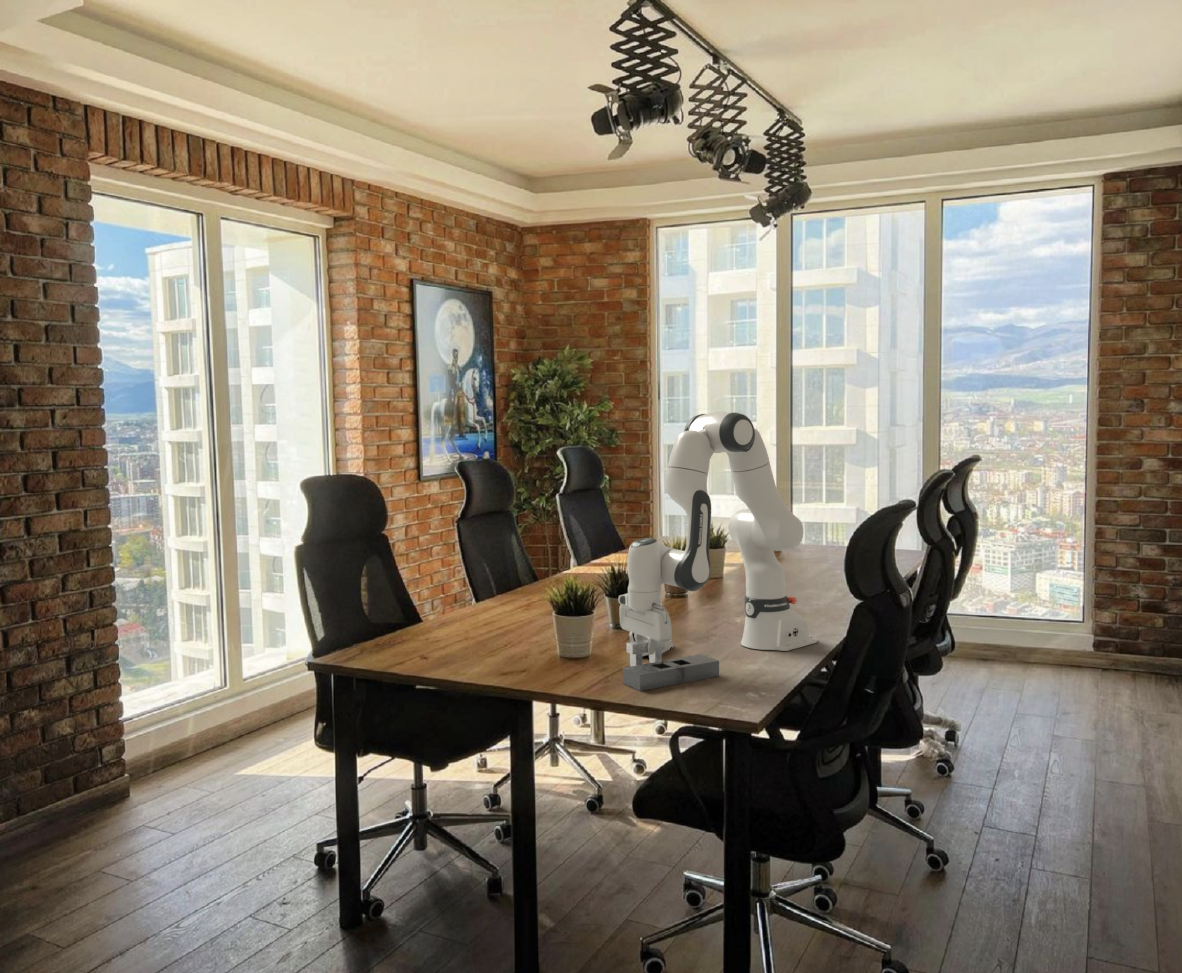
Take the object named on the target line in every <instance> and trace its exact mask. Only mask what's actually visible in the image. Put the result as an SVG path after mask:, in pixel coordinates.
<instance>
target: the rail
mask: <svg viewBox="0 0 1182 973" xmlns="http://www.w3.org/2000/svg"><path fill="white" fill-rule="evenodd" d="M715 676H717V677H719V676H720V660H718V659H716V658H712V657H709V656H707V655H705V654H704V655H703V654H695V655H689V656H683V657H678V658H673V659H666V660H662V661H659V662H653V663H644V664H642V665H636V666H630V665H629V666H626V667H622V684H623V683H624V684H623V685H625V684H626V686H628V687H630V686H631V687H630V688H632V689H634V690H637V691H640V692H642V691H647V690H648V689H649V690H653V689H657V688H658V689H659V688H663V686H664V687H668V686H669V687H670V686H674V685H680V684H683V683H684V684H685V683H690V682H695V681H700V679H701V680H705V679H706V680H707V679H710V678H716V677H715Z"/></svg>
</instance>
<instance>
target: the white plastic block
mask: <svg viewBox="0 0 1182 973" xmlns="http://www.w3.org/2000/svg"><path fill="white" fill-rule="evenodd" d="M628 636H629V640H630V642H635V641H636V640H635V638H634V633H632V632H630V631H629V633H628ZM643 640H648V638H646V637H644V636H643ZM671 647H672V648H675V645H674V642H673V640H672V639H671V640H670V641H666V642H665V649H663V650H662V654H664V653H666V652H667V651H669V650H670V648H671ZM672 648H671V649H672ZM646 656H649V654H647V653H646V652H645V653H642V657H646Z"/></svg>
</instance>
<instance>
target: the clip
mask: <svg viewBox="0 0 1182 973" xmlns="http://www.w3.org/2000/svg"><path fill="white" fill-rule="evenodd" d="M625 643H626V644H625V645H626V653H627V654H629V667H630V666H636V665H642V664H643V656H642V653H645V652H646V647H648V644H649V642H648V640H641V641H635V642H631V641H630V642H625ZM663 649H665V642H658V641H657V644H656V646H655V653H654V654H651V655H650V654H649V655H648V658H649V659H648V662H649V663H653V662H659V661H663V658H662V654H663V653H662V650H663Z"/></svg>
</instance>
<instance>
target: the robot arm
mask: <svg viewBox="0 0 1182 973" xmlns="http://www.w3.org/2000/svg"><path fill="white" fill-rule="evenodd" d="M683 430H684V431H682V432H680V433H679V434H678V435H677V436H676V438H675V441H674V443H673V446H672V449H671V452H670V455H669V459H668V464H667V469H666V473H665V479H664V480H665V491H666V492H667V494H668V496H669V498H671V499H672V500H673V502H675V503H676V504H677V505H679V506H680V507H681V508H682V509H683V510H684V511H685V513H686V516H687V532H686V533H687V535H686V546H685V550H681V549H677V548H672V547H670V546H667V545H664V544H663V543H661V542H659V541H658V539H656V538H653V537H645V538H639V539H636V540H634V541H632V543H630V545H629V549H628V552H627V553H628V554H627V576H628V586H627V593H624V594H620V595H618V603H619V604H620V605H619V610H618V611H619V614H618V615H619V625H620V628H621V629H622V630H624V631H626V632H627V631H628V632H629V633H630V632H632V633H634V638H635V640H636V641H641V640H643V636H644V637H646V638H648V642H649V644H648V647H646V653H647V654H650V655H651V654H654V653H655V646H656V644H657V641H658V642H666V641H670V640H672V637H673V632H672V621H671V617H670V614H669V612H668V610H667V609H666V606H664V605H663V603H662V600H663V599H662V598H663V597H662V585H663V584H666V585H668V586H669V585H670V586H672V587H673V586H674V587H678V588H681V589H683V590H686V591H689V592H697V591H699V590H700V589H702V588H703V587H704V586H705V585H706V584H707V583H708V581H709V579H710V578H711V577H710V576H711V572H712V571H711V569H712V567H711V557H710V542H711V541H710V540H711V525H712V502H711V501H712V500H711V498H710V496H709V494H708V476H709V469H710V462H711V461H710V460H711V458H712V456H713V455H714V453H715V454H719V453H720V454H722V453H725V454H726V455H727V456H728V461H729V467H730V471H731V477H732V479H733V485H734V489H735V493H736V495H737V497H738V498H739V500H741V502H743V503H744V504H745V506H746V507H747V508H746V509H739V510H737V511H735V512H734V513H733V514H732V515H731V517H730V518H729V521H728V525H727V526H728V527H727V528H728V533H729V535H730V537H731V539H732V540H733V541H734V543H735V544H736V545H737V547H738V550H739V552H740V555H741V558H742V562H743V565H744V570H745V571H744V573H745V595H744V611H745V618H744V628H743V632H742V633H743V634H742V639H741V641H740V645H741V646H743V647H746V648H748V649H754V650H762V651H770V650H771V651H782V652H784V651H785V652H788V651H791V650H795V649H799V648H802V647H805V646H808V645H809V646H810V645H813V644H816V643H818V639H817V638H818V637H817V638H816V636H813V635H811V634H810V631H809V630H810V628H809V624H808V622H807V621H806V619H804V618H803V617H802V616H801V615H800V614H798V613H797V612H795V611H794V609H792V608H791V605H790V604H792V605H796V603H797V601H798V599H797V597H795V596H791V595H790V596H787V595H786V573H785V572H786V571H785V568H784V566H783V565H782V564H781V563H780V562H779V560H778V558H777V557H776V554H775V551H777V552H778V551H779V552H780V551H788V550H793V549H796V548H797V547H799V545H800V544H801V542H802V541H803V539H804V538H803V537H804V525H803V523H802V521H801V520H800V518H798V517H797V516H796V515H795V514H794V513H793V512H792V511H791V510H790V509H789V507H788V506H787V504H786V503H785V501H784V500H783V498H782V496H781V495H780V492H779V490H778V489H777V488H778V487H777V485H776V482H775V479H774V475H773V470H772V467H771V461H770V459H769V454H768V451H767V448H766V445H765V443H764V440H763V438H762V435H761V433H760V431H759V430H758V429H757V428H755V427H754V424H753V422H752V421H751V419H750V418H749V417H748V416H747V415H745V414H743V413H740V412H727V411H717V412H713V413H701V414H697V415H695V416H693V417H691V418H689V420H688V421H687V423H686V425H685V427H684V429H683Z"/></svg>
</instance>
